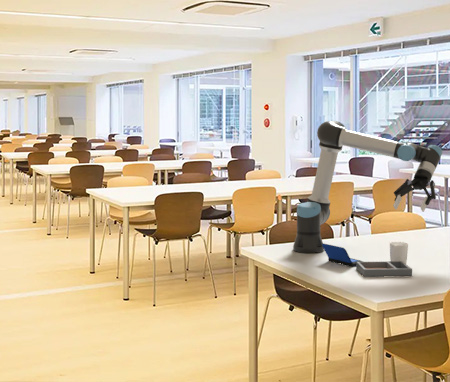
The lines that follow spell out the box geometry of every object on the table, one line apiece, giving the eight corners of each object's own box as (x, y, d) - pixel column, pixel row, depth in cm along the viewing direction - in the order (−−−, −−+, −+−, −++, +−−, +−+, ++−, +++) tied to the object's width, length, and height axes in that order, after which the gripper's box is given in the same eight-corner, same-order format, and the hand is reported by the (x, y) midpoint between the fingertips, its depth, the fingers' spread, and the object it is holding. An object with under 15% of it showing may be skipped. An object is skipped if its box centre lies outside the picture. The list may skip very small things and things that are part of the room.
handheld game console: (366, 265, 298) (367, 245, 297) (344, 269, 291) (344, 248, 290) (342, 259, 311) (343, 239, 310) (321, 262, 304) (321, 242, 303)
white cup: (408, 268, 291) (408, 245, 290) (389, 267, 292) (390, 244, 291) (406, 264, 298) (407, 242, 297) (388, 263, 300) (389, 241, 299)
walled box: (363, 277, 275) (364, 269, 274) (356, 268, 290) (356, 261, 289) (412, 276, 275) (412, 269, 275) (401, 268, 290) (402, 261, 290)
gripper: (452, 179, 305) (436, 215, 296) (403, 177, 322) (386, 211, 313) (447, 169, 301) (431, 205, 291) (397, 167, 318) (381, 201, 309)
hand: (408, 208), depth 302 cm, fingers open, 13 cm apart
